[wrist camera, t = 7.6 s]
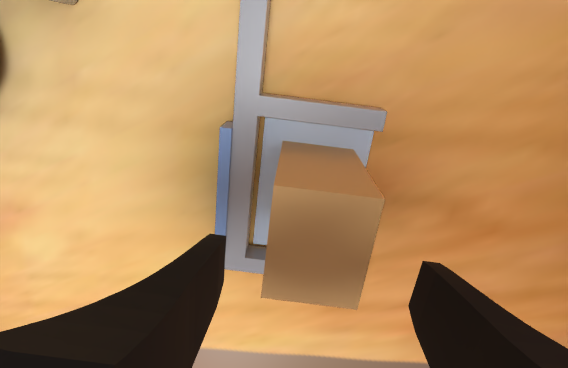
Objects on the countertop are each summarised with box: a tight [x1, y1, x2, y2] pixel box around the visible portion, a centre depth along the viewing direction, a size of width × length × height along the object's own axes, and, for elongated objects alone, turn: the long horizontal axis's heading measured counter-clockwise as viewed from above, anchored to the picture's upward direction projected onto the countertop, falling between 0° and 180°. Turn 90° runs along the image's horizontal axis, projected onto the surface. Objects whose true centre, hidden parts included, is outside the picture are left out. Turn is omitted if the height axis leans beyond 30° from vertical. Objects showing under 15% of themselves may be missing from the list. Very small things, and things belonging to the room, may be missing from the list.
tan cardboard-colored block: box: [261, 141, 385, 310], centre depth 16 cm, size 4×5×7 cm
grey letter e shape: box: [215, 0, 387, 274], centre depth 17 cm, size 8×20×2 cm, turn 173°
